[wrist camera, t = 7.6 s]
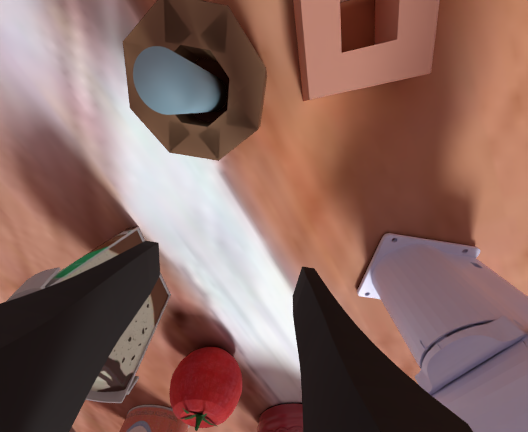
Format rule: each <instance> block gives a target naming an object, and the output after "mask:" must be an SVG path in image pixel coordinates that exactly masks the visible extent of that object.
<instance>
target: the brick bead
mask: <svg viewBox="0 0 528 432" xmlns="http://www.w3.org/2000/svg"><path fill="white" fill-rule="evenodd" d="M344 1H348V0H293V5H294V15H295V25H296V34H297V44H298V54H299V64H300V74H301V83H302V93H303V101H307V100H311V99H316V98H320V97H325V96H329V95H334V94H339V93H343V92H348V91H352V90H357V89H362V88H366V87H371V86H375V85H380V84H385V83H389V82H394V81H398V80H403V79H408V78H412V77H417V76H421V75H426V74H430V73H431V69H432V60H433V52H434V44H435V36H436V27H437V19H438V11H439V2H440V0H375V39H374V45H372V46H368V47H364V48H360V49H355V50H351V51H347V52H343V53H342V50H341V18H340V2H344Z"/></svg>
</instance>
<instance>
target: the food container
mask: <svg viewBox="0 0 528 432" xmlns="http://www.w3.org/2000/svg"><path fill="white" fill-rule="evenodd" d="M144 241H145V239H144V237H143V235H142V233H141V231H140V229H139V226H137V227H133V228H128V229H126V230H125V231H123V232H121V233H120V234H118V235H116V236H115V237H113V238H112V239H110V240H108V241H107V242H105V243H104V244H102V245H101V246H99V247H97V248H96V249H94V250H93V251H91V252H90V253H88V254H86V255H85V256H83V257H82V258H80V259H78V260H77V261H75V262H74V263H72V264H71V265H69V266H67V267H66V268H64V269H63V270H61V271H60V272H59V270H60V268H54V269H49V270H45V271H43V272H40V273H38V274H35V275H34V276H32V277H31V278H29V279H28V280H26V281H25V283H24V284H23V285H22V286H21V287H20V288H19V289H18V290H17V291H16V292H15V293H14V294H13V295H12V296H11V297H10V298H9V299H8V300H7V301H10V300H13V299H16V298H19V297H22V296H25V295H27V294H30V293H33V292H36V291H39V290H41V289H44V288H46V287H49V286H52V285H54V284H57V283H59V282H62V281H64V280H66V279H69V278H71V277H73V276H76V275H78V274H80V273H82V272H84V271H86V270H88V269H90V268H93V267H95V266H97V265H99V264H101V263H103V262H105V261H107V260H109V259H111V258H113V257H115V256H117V255H119V254H121V253H123V252H125V251H126V250H128V249H130V248H132V247H134V246H136V245H138V244H140V243H142V242H144ZM170 296H171V294H170V292H169V290H168V288H167V286H166V283H165V281H164V279H163V277H162V275H161V273H160V276H159V278H158V280H157V282H156V284H155V286H154V288H153V290H152V292H151V293H150V295H149V297H148V298H147V300H146V301H145V302H144V304H143V305H142V307H141V308H140V310H139V311H138V313H137V314H136V316H135V317H134V318H133V320H132V321H131V323H130V324H129V326H128V327H127V329H126V330H125V331H124V333H123V334H122V336H121V337H120V339H119V340H118V342H117V344H116V345H115V347H114V348H113V350H112V352H111V354H110V355H109V357H108V359H107V361H106V362H105V364H104V366H103V368H102V370H101V371H100V373H99V375H98V377H97V379H96V381H95V382H94V384H93V386H92V388H91V390H90V392H89V394H88V395H87V397H86V399H85V400H90V401H97V402H107V403H122V402H123V400H124V398H125V396H126V395H129V393H130V391H131V390H132V388H133V387H134V385H135V383H136V382H137V380H138V379H139V376H135V374H136V372H137V370H138V368H139V366H140V363H141V361H142V359H143V357H144V354H145V352H146V350H147V348H148V345H149V343H150V341H151V339H152V336H153V334H154V332H155V330H156V328H157V325H158V323H159V321H160V319H161V316H162V314H163V312H164V310H165V307H166V305H167V303H168V301H169V298H170ZM7 301H6V302H7Z"/></svg>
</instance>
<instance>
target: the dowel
mask: <svg viewBox="0 0 528 432" xmlns="http://www.w3.org/2000/svg"><path fill="white" fill-rule="evenodd" d="M133 80H134V84H135V88H136V90H137V92H138V94H139V96H140V98H141V99H142V100H143V102H144V103H145V104H146V105H147V106H148V107H150V108H151V109H152V110H154V111H156V112H158V113H161V114H165V115H173V114H189V113H204V112H216V111H219V110H221V109H222V108H223V107H224V106H225V104H226V102H227V97H228V94H227V89H226V86H225V84H224V83H223V81H222V80H221V79H220V78H218V77H217V76H215V75H213V74H211V73H210V72H208V71H206V70H204V69H203V68H201V67H199V66H198V65H196V64H194V63H192V62H191V61H189V60H187V59H185V58H184V57H182V56H180V55H178V54H177V53H175V52H173V51H171V50H169V49H167V48H165V47H161V46H152V47H149V48H147V49H145V50H143V51H142V52H141V53H140V54H139V55H138V57H137V59H136V61H135V63H134V68H133Z"/></svg>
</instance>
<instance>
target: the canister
mask: <svg viewBox="0 0 528 432" xmlns="http://www.w3.org/2000/svg"><path fill="white" fill-rule="evenodd" d="M257 432H303V408H302V404H297V403H291V404H282V405H277V406H274V407H271V408H269V409H267V410H266V411H264V412H263V413H262V414H261V416H260V418H259V424H258V427H257Z"/></svg>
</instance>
